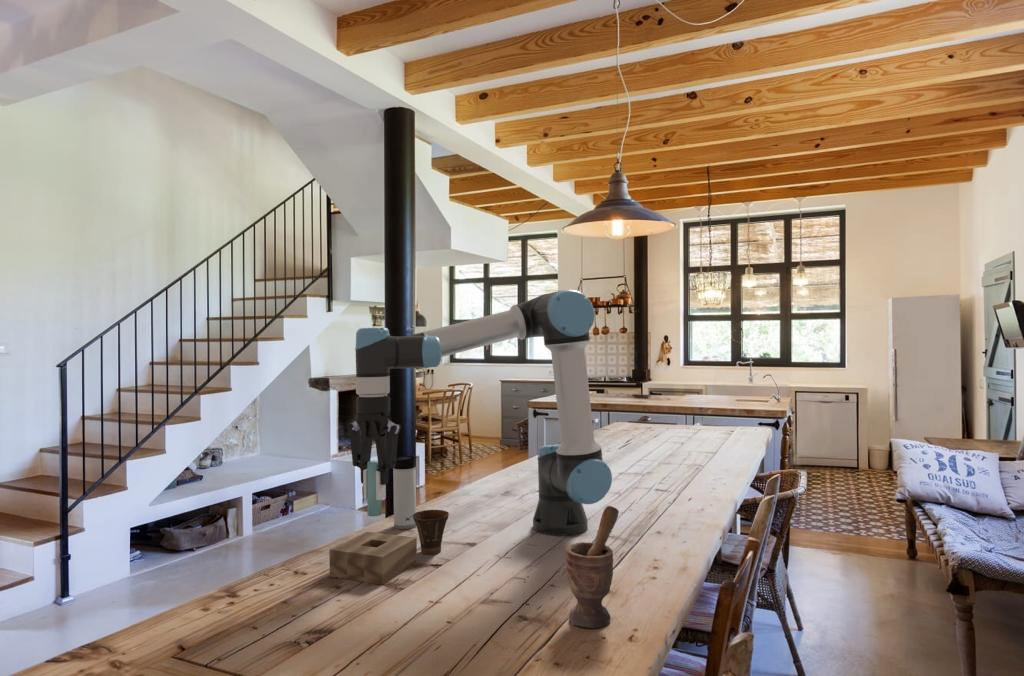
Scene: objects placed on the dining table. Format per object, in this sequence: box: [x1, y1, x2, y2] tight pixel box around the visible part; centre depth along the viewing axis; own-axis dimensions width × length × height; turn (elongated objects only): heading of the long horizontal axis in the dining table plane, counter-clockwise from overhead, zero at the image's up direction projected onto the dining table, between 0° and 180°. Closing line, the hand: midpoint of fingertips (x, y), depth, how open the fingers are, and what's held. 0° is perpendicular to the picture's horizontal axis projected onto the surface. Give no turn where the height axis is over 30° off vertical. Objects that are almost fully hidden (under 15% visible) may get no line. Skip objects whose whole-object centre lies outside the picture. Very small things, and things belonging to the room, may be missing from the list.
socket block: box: [328, 531, 418, 586], centre depth 143 cm, size 14×14×6 cm
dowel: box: [366, 460, 383, 517], centre depth 143 cm, size 3×3×12 cm
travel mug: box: [392, 454, 418, 530], centre depth 177 cm, size 6×7×20 cm
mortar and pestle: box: [565, 505, 619, 629], centre depth 117 cm, size 12×9×20 cm
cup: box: [413, 509, 450, 555], centre depth 156 cm, size 9×9×10 cm
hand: (374, 497), depth 143 cm, fingers closed on dowel, 3 cm apart
